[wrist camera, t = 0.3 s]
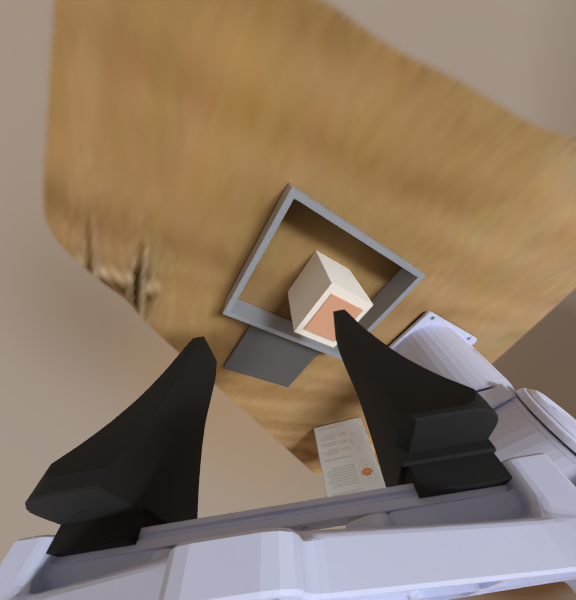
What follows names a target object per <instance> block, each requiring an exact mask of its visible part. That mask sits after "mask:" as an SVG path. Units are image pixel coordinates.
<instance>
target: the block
mask: <svg viewBox="0 0 576 600" xmlns="http://www.w3.org/2000/svg"><path fill="white" fill-rule="evenodd" d="M288 298H289V304H290V311H291V317H292V323H293V329H294V332H296V333H298V334H301V335H303V336H306V337H308V338H311V339H313V340H316V341H318V342H321V343H323V344H326V345H328V346H331V347H333V348H334V347H335V346H336V345H337V342H336V338H335V327H334V316H333V311H338V310H343V309H345V310H346V311H347V312H348V313H349V314H350V315H351V316H352V317H353V318H354V319H355V320H356V321H357V322H358V321H359V320H360V319H361V318H362V317H363V316H364V315H365V314H366V313H367V312H368V310H369V309H370V308H371V307H372V306H373V303H372V302H371V300H370V299H369V297H368V296H367V295H366V293H365V292H364V290H363V289H362V287H361V286H360V284H359V283H358V281H357V280H356V279H355V277H354V276H353V274H352V273H351V271H350V270H349V269H347V268H346V267H344V266H342V265H340V264H339V263H337V262H335V261H333V260H331V259H330V258H328V257H326V256H324V255H323V254H321V253H319V252H317V251H315V252H314V254H313V255H312V257H311V258H310V260H309V261H308V263H307V264H306V266H305V267H304V268H303V270H302V271H301V273H300V274H299V276H298V277H297V279H296V280H295V282H294V283H293V285H292V286H291V288H290V289H289V291H288Z"/></svg>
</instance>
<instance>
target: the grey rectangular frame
mask: <svg viewBox="0 0 576 600" xmlns="http://www.w3.org/2000/svg"><path fill="white" fill-rule="evenodd" d="M294 198H295V199H296V200H298V201H299V202H301V203H302V204H304V205H306V206H307V207H309V208H310V209H312V210H313V211H315V212H316V213H318V214H320V215H321V216H323V217H324V218H326V219H327V220H329V221H331V222H332V223H334V224H335V225H337V226H338V227H340V228H341V229H343V230H345V231H346V232H348V233H349V234H351V235H352V236H354V237H356V238H357V239H359V240H360V241H362V242H363V243H365V244H367V245H368V246H370V247H371V248H373V249H374V250H376V251H377V252H379V253H381V254H382V255H384V256H385V257H387V258H388V259H390V260H392V261H393V262H395V263H396V264H398V265H399V266H401V267H402V268H401V269H400V270H399V271H398V272H397V274H396V275H395V276H394V277H393V278H392V279H391V280H390V281H389V282H388V283H387V284H386V286H385V287H384V288H383V289H382V290H381V291H380V292H379V293H378V294H377V295H376V296H375V298H374V299H373V300H372V301H371V302H372V303H373V306H372V307H371V308H370V309H369V310H368V312H367V313H366V314H365V315H364V316H363V317H362V318H361V319H360V320H359V321H358V323H359V324H361V325H362V326H363V327H364V328H365V329H366V330H367V331H369V332H371V331H372V330H373V329H374V328H375V327H376V326H377V325H378V324H379V323H380V322H381V321H382V320H383V319H384V318H385V317H386V315H387V314H388V313H389V312H390V311H391V310H392V309H393V308H394V307H395V306H396V305H397V304H398V303H399V302H400V301H401V300H402V299H403V298H404V297H405V296H406V295H407V294H408V293H409V292H410V291H411V290H412V289H413V288H414V287H415V286H416V285H417V284H418V283H419V282H420V281H421V280H422V279H423V278H424V277H425V276H426V275H425V274H424V273H422V272H421V271H420V270H419V269H417V268H416V267H415V266H414V265H412V264H411V263H410V262H408V261H407V260H405V259H404V258H402V257H401V256H399V255H398V254H396V253H395V252H393V251H392V250H390V249H389V248H387V247H385V246H384V245H382V244H381V243H379V242H378V241H376V240H375V239H373V238H372V237H370V236H369V235H367V234H366V233H364V232H363V231H361V230H360V229H358V228H357V227H355V226H354V225H352V224H351V223H349V222H348V221H346V220H345V219H343V218H342V217H340V216H339V215H337V214H336V213H334V212H333V211H331V210H330V209H328V208H327V207H325V206H323V205H322V204H320V203H319V202H317V201H316V200H314V199H313V198H311V197H310V196H308V195H307V194H305V193H304V192H302V191H301V190H299V189H298V188H296V187H295V186H293V185H292V184H290V183H288V184H287V186H286V188H285V190H284V192H283V194H282V196H281V198H280V199H279V201H278V203H277V205H276V207H275V209H274V211H273V212H272V214H271V216H270V218H269V220H268V222H267V224H266V226H265V227H264V229H263V231H262V233H261V235H260V237H259V239H258V241H257V242H256V244H255V246H254V248H253V250H252V252H251V254H250V255H249V257H248V259H247V261H246V263H245V265H244V267H243V269H242V270H241V272H240V274H239V276H238V278H237V280H236V282H235V283H234V285H233V287H232V289H231V291H230V293H229V295H228V297H227V298H226V302H225V306H224V310H223V314H224V315H227V316H229V317H232V318H234V319H237V320H240V321H242V322H245V323H247V324H250V325H253V326H255V327H258V328H260V329H263V330H266V331H268V332H271V333H273V334H276V335H279V336H281V337H284V338H286V339H289V340H292V341H294V342H297V343H299V344H302V345H305V346H307V347H310V348H312V349H315V350H318V351H320V352H323V353H325V354H328V355H331V356H333V357H336V358H339V359H341V360H342V358H341V355H340V352H339V349H338V345H336V346H335V347H334V348H333V347H331V346H328V345H326V344H323V343H321V342H318V341H316V340H313V339H311V338H308V337H306V336H303V335H301V334H298V333H296V332H294V329H293V323H292V321H289V320H287V319H285V318H282V317H280V316H277V315H275V314H273V313H270V312H268V311H265V310H263V309H261V308H258V307H256V306H254V305H251V304H249V303H246V302H244V301H242V300H239V299H238V297H239V295H240V294H241V292H242V290H243V288H244V286H245V285H246V283H247V281H248V279H249V278H250V276H251V274H252V272H253V271H254V269H255V267H256V265H257V263H258V262H259V260H260V258H261V256H262V255H263V253H264V251H265V249H266V247H267V246H268V244H269V242H270V240H271V239H272V237H273V235H274V233H275V232H276V230H277V228H278V226H279V224H280V223H281V221H282V219H283V217H284V216H285V214H286V212H287V210H288V209H289V207H290V205H291V203H292V201H293V200H294Z"/></svg>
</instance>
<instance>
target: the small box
mask: <svg viewBox="0 0 576 600" xmlns="http://www.w3.org/2000/svg"><path fill="white" fill-rule="evenodd" d="M314 433H315V438H316V444H317V449H318V454H319V459H320V465H321V470H322V476H323V481H324V486H325V492H326V497H332V496H338V495H344V494H350V493H356V492H362V491H368V490H375V489H381V488H386V486H385V484H384V481H383V478H382V475H381V473H380V470H379V467H378V464H377V462H376V459H375V456H374V453H373V451H372V448H371V445H370V442H369V440H368V437H367V434H366V432H365V429H364V426H363V423H362V421H361V418H360V417H357V418H353V419H349V420H345V421H341V422H337V423H333V424H329V425H325V426H321V427H317V428H314Z"/></svg>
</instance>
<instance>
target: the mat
mask: <svg viewBox="0 0 576 600" xmlns="http://www.w3.org/2000/svg"><path fill="white" fill-rule="evenodd" d="M319 352H320V351H318V350H315V349H312V348H310V347H307V346H305V345H302V344H299V343H297V342H294V341H292V340H289V339H286V338H284V337H281V336H279V335H276V334H273V333H271V332H268V331H266V330H263V329H260V328H258V327H255V326H253V325H249V327H248V328H247V330H246V331H245V333H244V335H243V336H242V338H241V339H240V341H239V342H238V344H237V346H236V347H235V349H234V350H233V352H232V353H231V355H230V357H229V358H228V360H227V361H226V363H225V364H224V368H225V369H229V370H232V371H235V372H239V373H242V374H245V375H249V376H252V377H255V378H259V379H262V380H265V381H269V382H272V383H275V384H279V385H282V386H285V387H289V385H290V384H291V383H292V382H293V381H294V380H295V379H296V378H297V376H298V375H299V374H300V373H301V372H302V371H303V370H304V369H305V368H306V366H307V365H308V364H309V363H310V362H311V361H312V360H313V359H314V358H315V356H316V355H317V354H318V353H319Z"/></svg>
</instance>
